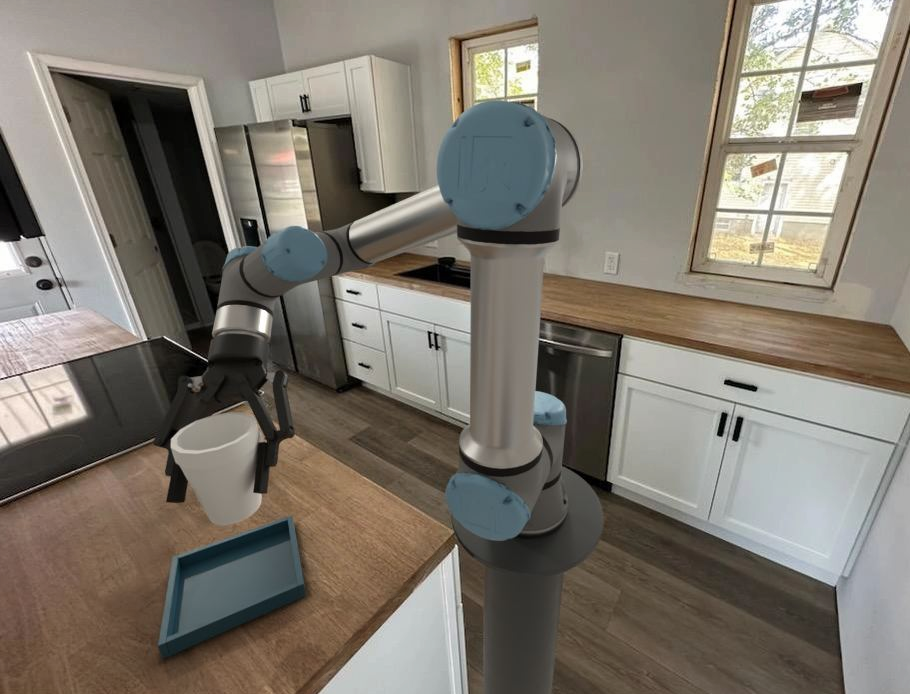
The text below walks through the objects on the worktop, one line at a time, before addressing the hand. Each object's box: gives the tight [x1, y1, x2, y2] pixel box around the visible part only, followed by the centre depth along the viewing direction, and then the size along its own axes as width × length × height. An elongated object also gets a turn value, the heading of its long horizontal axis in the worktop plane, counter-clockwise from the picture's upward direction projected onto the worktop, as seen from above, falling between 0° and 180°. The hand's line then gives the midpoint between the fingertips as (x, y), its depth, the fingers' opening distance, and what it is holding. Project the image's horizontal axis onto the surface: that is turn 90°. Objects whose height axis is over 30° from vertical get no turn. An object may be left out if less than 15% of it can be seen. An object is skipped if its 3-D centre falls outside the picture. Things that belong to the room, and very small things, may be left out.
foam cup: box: [171, 411, 263, 526], centre depth 56 cm, size 10×9×13 cm
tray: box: [157, 514, 307, 660], centre depth 62 cm, size 17×15×2 cm
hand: (218, 497), depth 54 cm, fingers closed on foam cup, 9 cm apart
